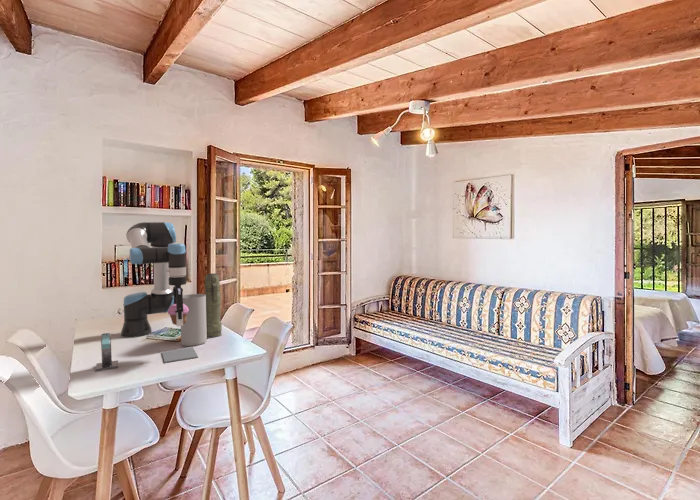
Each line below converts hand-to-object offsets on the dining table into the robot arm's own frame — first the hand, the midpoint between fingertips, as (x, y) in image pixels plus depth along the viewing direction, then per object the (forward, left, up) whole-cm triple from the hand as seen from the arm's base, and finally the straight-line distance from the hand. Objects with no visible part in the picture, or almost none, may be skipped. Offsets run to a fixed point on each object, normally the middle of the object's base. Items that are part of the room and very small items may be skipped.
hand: (178, 323), depth 177 cm
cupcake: (0, 0, 0) cm, 0 cm away
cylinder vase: (-18, +9, -16) cm, 25 cm away
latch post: (0, -29, -15) cm, 33 cm away
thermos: (-28, +20, -16) cm, 38 cm away
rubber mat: (0, 0, -15) cm, 15 cm away
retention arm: (+8, -29, -3) cm, 30 cm away
